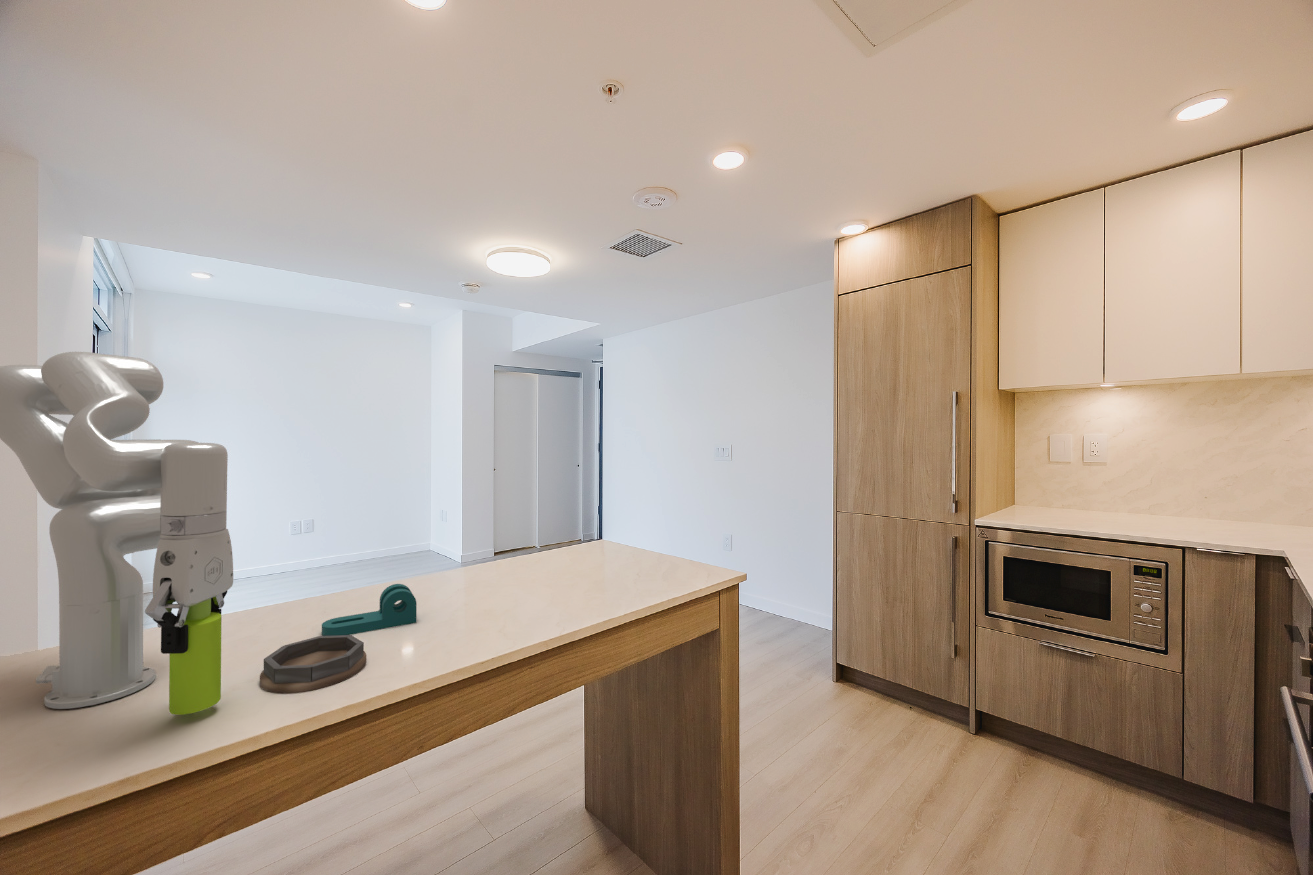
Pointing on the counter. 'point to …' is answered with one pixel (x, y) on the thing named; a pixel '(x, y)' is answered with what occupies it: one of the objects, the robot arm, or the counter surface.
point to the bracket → (377, 614)
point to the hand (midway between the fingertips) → (192, 642)
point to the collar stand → (312, 664)
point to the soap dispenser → (197, 663)
